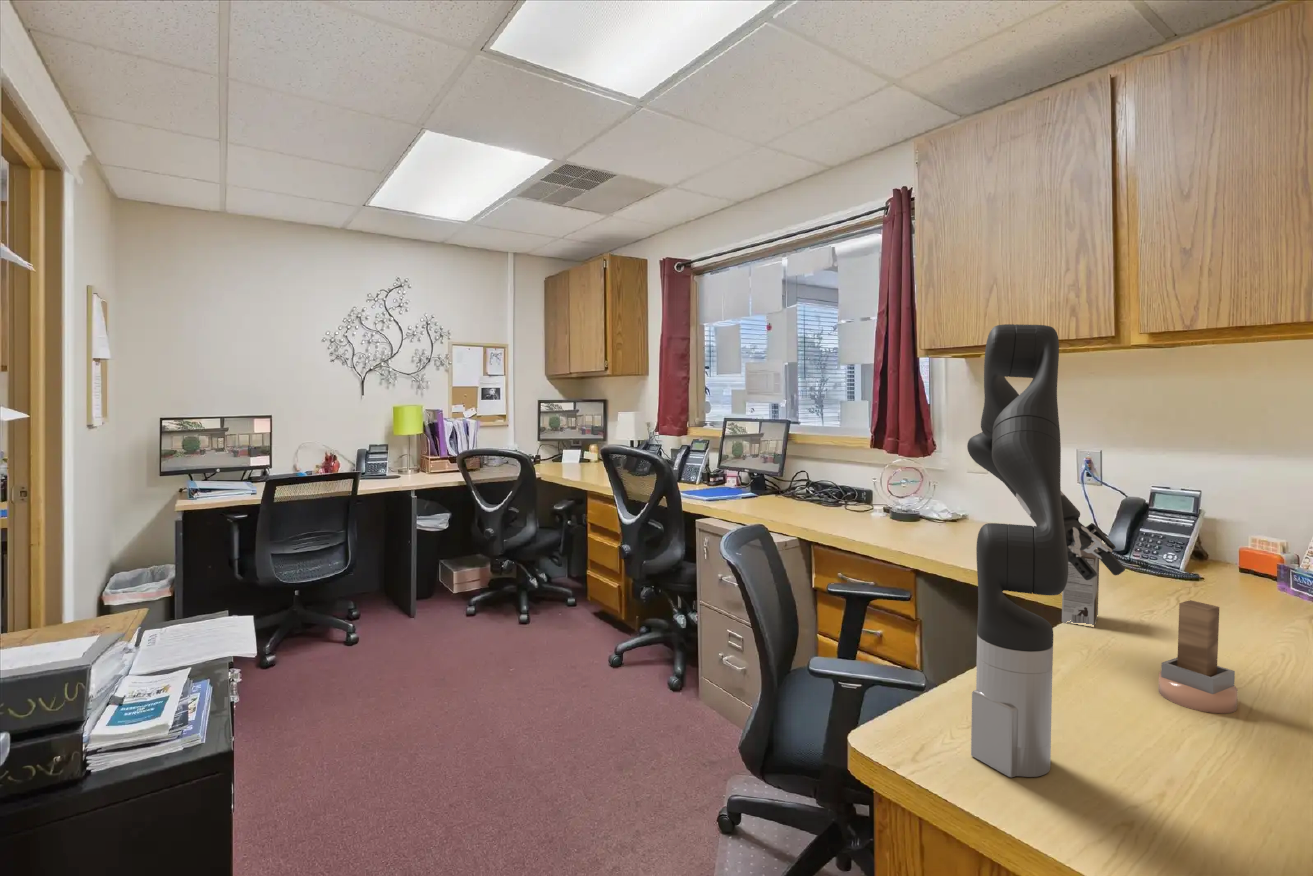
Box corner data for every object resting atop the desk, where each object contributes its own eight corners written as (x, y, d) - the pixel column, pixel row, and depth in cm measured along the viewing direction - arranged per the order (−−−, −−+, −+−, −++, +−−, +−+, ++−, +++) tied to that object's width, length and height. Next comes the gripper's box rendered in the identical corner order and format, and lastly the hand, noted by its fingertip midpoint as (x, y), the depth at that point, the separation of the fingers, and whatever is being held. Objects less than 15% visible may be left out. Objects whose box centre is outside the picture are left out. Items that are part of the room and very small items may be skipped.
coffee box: (1065, 611, 149) (1067, 544, 149) (1098, 617, 145) (1100, 548, 144) (1060, 622, 142) (1062, 552, 141) (1094, 628, 138) (1096, 556, 137)
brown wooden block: (1205, 688, 103) (1208, 610, 102) (1176, 678, 107) (1179, 603, 106) (1216, 683, 104) (1219, 606, 104) (1187, 674, 108) (1190, 600, 107)
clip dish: (1217, 718, 99) (1218, 684, 99) (1145, 692, 108) (1146, 661, 108) (1249, 705, 103) (1250, 672, 103) (1177, 681, 112) (1178, 651, 112)
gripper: (1036, 495, 120) (1098, 568, 110) (1082, 491, 126) (1145, 560, 116) (1010, 519, 125) (1067, 590, 115) (1055, 514, 131) (1114, 582, 121)
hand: (1106, 575), depth 116 cm, fingers open, 8 cm apart
